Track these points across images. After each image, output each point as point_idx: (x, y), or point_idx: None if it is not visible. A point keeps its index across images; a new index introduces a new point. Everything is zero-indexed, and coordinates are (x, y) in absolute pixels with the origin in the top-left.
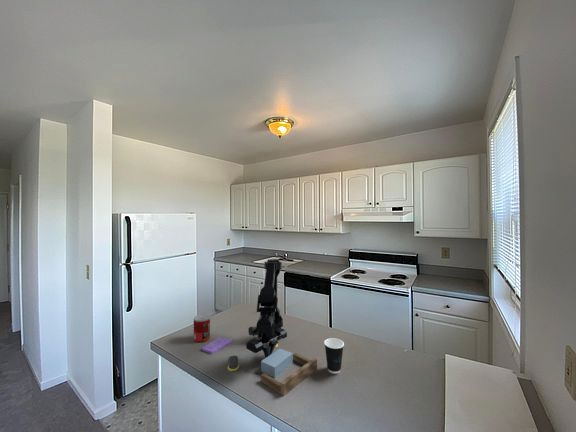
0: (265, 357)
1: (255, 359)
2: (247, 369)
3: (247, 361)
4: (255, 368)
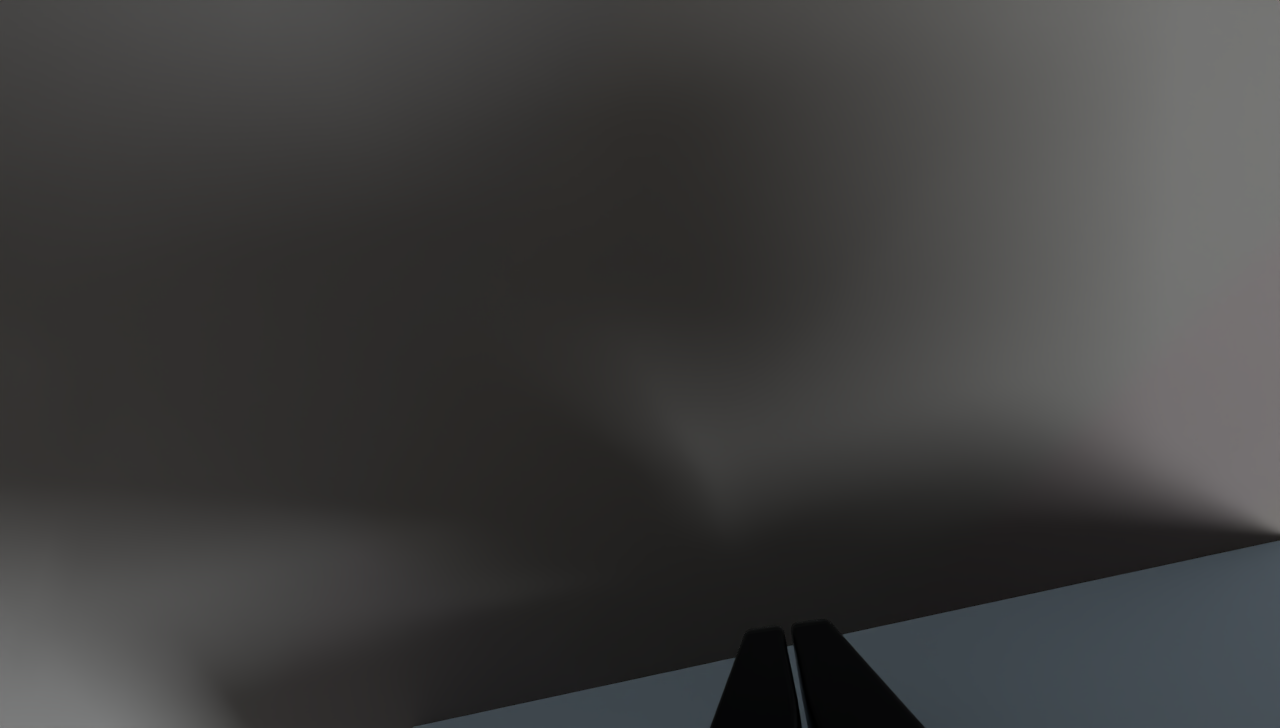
0: (729, 682)
1: (549, 102)
2: (71, 458)
3: (192, 19)
4: (321, 552)
